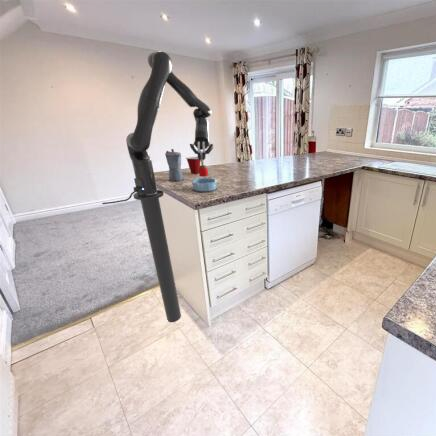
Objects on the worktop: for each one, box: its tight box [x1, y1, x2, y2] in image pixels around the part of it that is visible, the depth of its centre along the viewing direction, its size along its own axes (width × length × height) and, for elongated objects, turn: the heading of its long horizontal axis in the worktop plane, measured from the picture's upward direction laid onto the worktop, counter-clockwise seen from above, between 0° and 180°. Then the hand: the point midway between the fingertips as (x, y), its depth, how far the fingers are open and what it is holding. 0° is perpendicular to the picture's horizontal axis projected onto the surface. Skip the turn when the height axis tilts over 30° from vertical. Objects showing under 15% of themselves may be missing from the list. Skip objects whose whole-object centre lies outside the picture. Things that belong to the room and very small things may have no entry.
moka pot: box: [164, 148, 184, 182], centre depth 160 cm, size 10×15×20 cm, turn 58°
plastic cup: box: [185, 156, 201, 175], centre depth 179 cm, size 11×11×12 cm
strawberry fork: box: [198, 150, 209, 178], centre depth 141 cm, size 5×5×14 cm
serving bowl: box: [191, 177, 218, 193], centre depth 146 cm, size 14×14×5 cm
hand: (201, 159), depth 138 cm, fingers closed on strawberry fork, 1 cm apart
